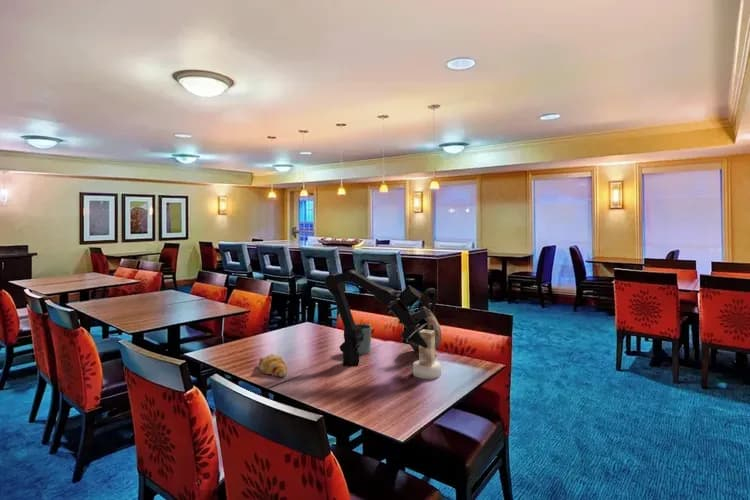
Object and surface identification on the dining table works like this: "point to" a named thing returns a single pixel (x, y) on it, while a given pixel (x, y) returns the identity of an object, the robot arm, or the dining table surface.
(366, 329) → the grey cup
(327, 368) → the dining table surface
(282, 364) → the croissant
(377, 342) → the dining table surface
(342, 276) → the robot arm
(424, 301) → the ceramic jug
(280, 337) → the dining table surface
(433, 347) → the maple block
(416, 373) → the cream plinth
